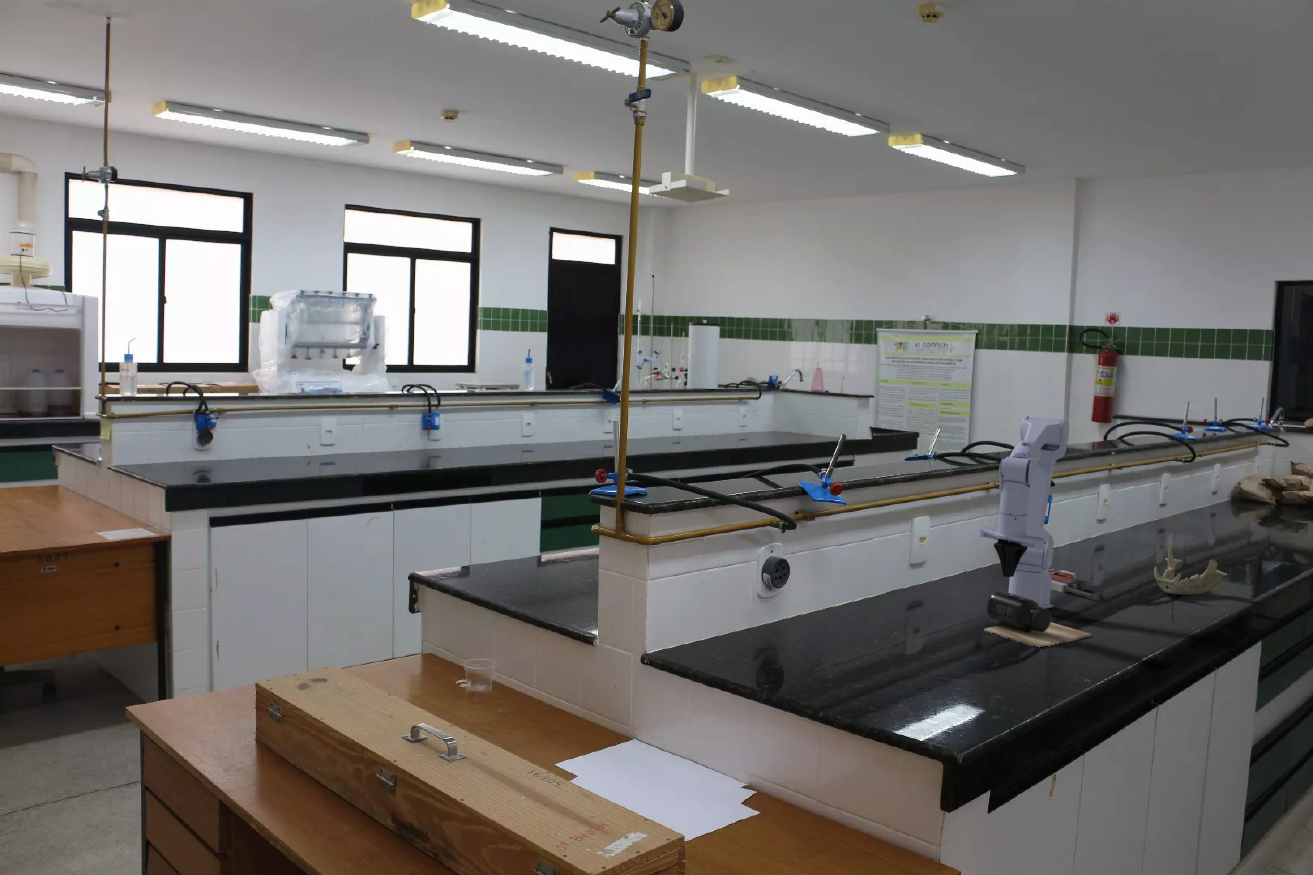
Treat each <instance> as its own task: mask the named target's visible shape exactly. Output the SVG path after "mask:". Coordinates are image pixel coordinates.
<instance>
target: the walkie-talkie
mask: <svg viewBox="0 0 1313 875" xmlns="http://www.w3.org/2000/svg"><path fill="white" fill-rule="evenodd" d="M1055 570H1056V569H1055V568H1051V569H1050V568H1049V569H1048V570H1047V571H1048V572H1049V573H1050V576H1051V580H1052V583H1051V590H1053V591H1054V592H1055V591H1056V592H1060V593H1072V594H1076V595H1079V596H1083V597H1084V596H1086V597H1088V598H1092V599H1094V597H1095V595H1094V594H1093V593H1090V592H1087V591H1085V590H1086V589H1087V584H1086V580H1084V579H1081V578H1079V577H1078V574H1077V573H1075V572H1070V571H1068V570H1064V569H1062V570H1056V571H1055Z"/></svg>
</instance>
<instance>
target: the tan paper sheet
mask: <svg viewBox="0 0 1313 875" xmlns="http://www.w3.org/2000/svg"><path fill="white" fill-rule="evenodd" d="M983 631H984V632H986V631H987V632H986V633H989V632H990V634H992V633H995V634H997V635H996V636H998V635H1000V637H1002V638H1005V639H1008V638H1010V639H1009V640H1011V639H1012V640H1011V641H1014V640H1015V641H1014V642H1017V643H1020V642H1022V643H1021V644H1024V645H1027V646H1030V647H1033V646H1036V647H1039V648H1040V647H1044V646H1048V647H1052V646H1055V644H1057V645H1060V644H1059V643H1061V644H1063V642H1065V643H1068V642H1072V641H1073V642H1074V641H1077V640H1081V639H1085V638H1089V637H1091V636H1092V634H1091V633H1088V632H1086V631H1081V630H1079V629H1075V628H1072V627H1069V626H1064V625H1062V624H1058V623H1054V622H1052V621H1051V623H1050V626H1049V627H1048V629H1047V630H1046V631H1044V632H1039V631H1034V630H1032V631H1030V632H1023V631H1020V630H1017V629H1014V628H1011V627H1008V626H1005V625H1002V624H999V625H994V626H992V627H991V626H989V627H985V628H984V630H983ZM995 634H994V635H995ZM1051 645H1052V646H1051ZM1036 647H1035V648H1036ZM1039 648H1038V649H1039ZM1044 648H1045V647H1044ZM1040 649H1041V648H1040Z"/></svg>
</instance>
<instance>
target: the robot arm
mask: <svg viewBox="0 0 1313 875" xmlns="http://www.w3.org/2000/svg"><path fill="white" fill-rule="evenodd" d="M1019 429H1020V430H1019V437H1020V440H1021V441H1018V443H1017V444H1016V445H1015V446H1014V447H1013V450H1012V451H1011V453H1010V455H1009V456H1006V457H1005V458H1002V459H1001V461H1000V464H999V467H998V468H999V469H998V479H999V487H998V488H999V489H998V490H999V492H1000V499H999V500H1000V501H999V502H1000V503H999V514H998V523H997V524H998V525H997V528H992V527H981V528H980V531H979V538H987V539H992V540H996V542H993V547H994V549H995V551H996V553H997V556H998V559H999V562H1000V563H999V564H1000V568H1001V571H1002V572H1001V573H1002V577H1005V578H1009V583H1008V584H1009V585H1008V593H1011V594H1015V595H1018V596H1021V597H1025V598H1028V599H1031V600H1034V601H1036V602H1037V603H1038V605H1039V606H1040V607H1042V608H1044V609H1050V608H1053V607H1054V605H1053V604H1051V603H1050V602H1051V593H1052V592H1051V590H1052V589H1051V583H1052V580H1051V576H1050V573H1049V572H1048V571H1047V570H1049V569H1050V568H1051V566H1052V564H1053V561H1054V560H1053V558H1054V544H1055V540H1054V538H1053V536H1052V535H1051V534H1050V532H1048V531H1047V529H1045V527H1044V526H1045V525H1044V524H1045V518H1046V513H1047V508H1048V502H1049V495H1050V491H1051V483H1052V478H1053V471H1054V467H1055V466H1056V462H1057V461H1058V460H1059V459H1061V458H1064V457H1065V454H1066V452H1067V449H1068V448H1067V446H1068V442H1069V434H1070V423H1069V421H1068V420H1067V418H1051V417H1037V416H1029V415H1025V416H1024V417H1023V418H1022V420H1021V424H1020V428H1019Z"/></svg>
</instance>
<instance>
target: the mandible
mask: <svg viewBox="0 0 1313 875" xmlns="http://www.w3.org/2000/svg"><path fill="white" fill-rule="evenodd" d="M1174 557H1175V556H1174V554H1173V553H1172V551H1171V549H1170V548H1168V554H1167V557H1166V558H1164V559H1165V561H1166V562H1167V568H1166V569H1165V570H1164V572H1163V575H1160V574H1159V572H1158V571H1159V570H1158V567H1157V565H1154V569H1153V573H1154V578H1155V579H1156V583H1157V584H1158V586H1159V588H1160V589H1161V590H1162V591H1163V592H1164V593H1167V594H1172V595H1186V596H1188V595H1190V596H1191V595H1201V594H1202V595H1203V594H1204V593H1206V592H1208V591H1211V590H1213V589H1216V588H1217V587H1218V586H1220V585H1222V582H1221V580H1222V578H1223V577H1226V576H1227V575H1228V573H1226V572H1222V571H1220V570H1218V569H1217V567H1218V562H1217V561H1216V560H1215V559H1210V560H1209V564H1208V566H1207V568H1206V570H1205V571H1204V572H1203V573H1202V574H1200V575H1199V574H1198V573H1197V574H1194V575H1191V577H1190V578H1188V577H1186V578H1184V579H1183V578H1182V579H1181V577H1182V573H1178V574H1177V576H1175V570H1176V566H1181V565H1182V564H1183V560H1181V559H1177V558H1174ZM1180 579H1181V580H1180Z"/></svg>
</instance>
